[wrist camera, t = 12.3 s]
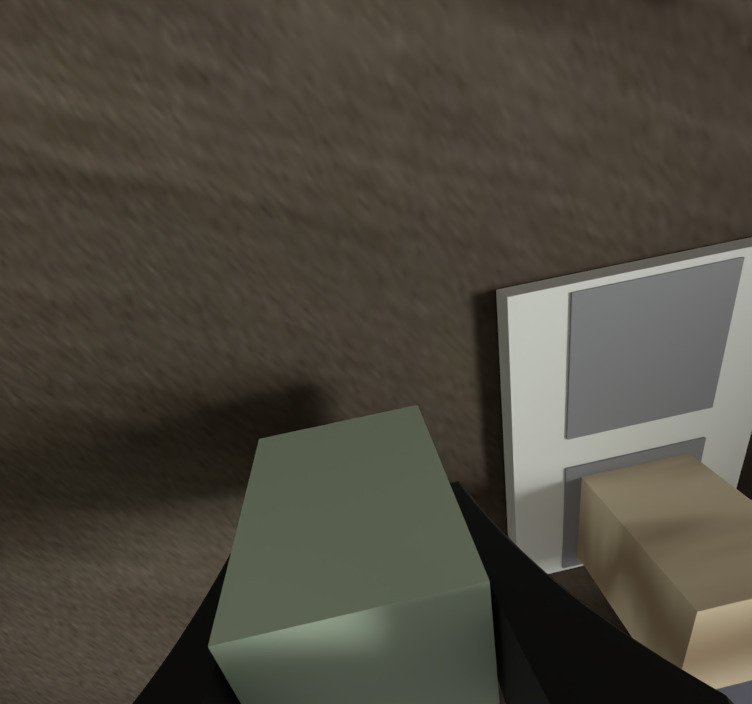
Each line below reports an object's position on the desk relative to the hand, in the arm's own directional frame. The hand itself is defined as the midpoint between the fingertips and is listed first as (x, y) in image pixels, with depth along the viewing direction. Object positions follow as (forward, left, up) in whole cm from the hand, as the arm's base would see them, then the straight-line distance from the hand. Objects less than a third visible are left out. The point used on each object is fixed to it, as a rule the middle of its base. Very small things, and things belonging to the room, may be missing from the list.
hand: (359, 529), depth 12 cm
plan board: (-3, -12, -5) cm, 13 cm away
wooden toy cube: (-7, -12, -4) cm, 14 cm away
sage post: (0, 0, -2) cm, 2 cm away
